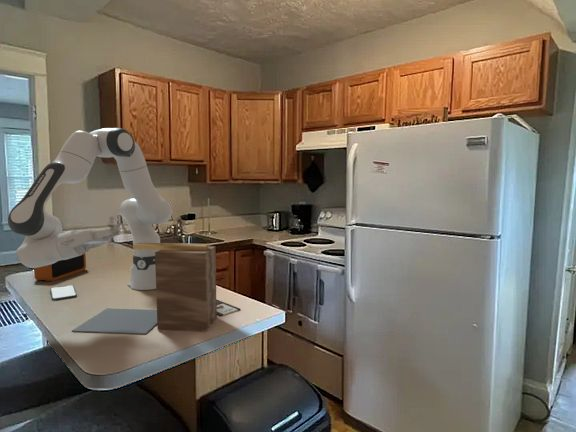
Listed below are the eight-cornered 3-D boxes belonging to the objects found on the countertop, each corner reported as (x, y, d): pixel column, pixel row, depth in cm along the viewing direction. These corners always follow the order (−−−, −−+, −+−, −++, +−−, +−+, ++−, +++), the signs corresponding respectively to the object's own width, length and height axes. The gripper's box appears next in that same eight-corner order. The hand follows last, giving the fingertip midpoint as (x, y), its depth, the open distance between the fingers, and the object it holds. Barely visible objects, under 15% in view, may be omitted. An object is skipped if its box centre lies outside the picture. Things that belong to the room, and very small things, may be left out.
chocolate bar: (211, 297, 151) (240, 308, 139) (211, 299, 151) (240, 311, 139) (192, 303, 145) (220, 315, 132) (192, 305, 145) (220, 317, 132)
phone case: (77, 298, 153) (73, 288, 166) (77, 295, 153) (73, 284, 166) (51, 302, 148) (49, 291, 161) (51, 298, 148) (49, 287, 161)
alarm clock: (50, 282, 174) (48, 258, 173) (34, 281, 175) (32, 257, 174) (86, 269, 197) (85, 248, 196) (72, 268, 199) (71, 247, 198)
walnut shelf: (171, 315, 133) (169, 245, 130) (216, 317, 132) (215, 246, 129) (157, 329, 121) (154, 252, 118) (206, 331, 120) (205, 253, 117)
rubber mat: (106, 309, 139) (106, 308, 139) (170, 311, 137) (170, 310, 137) (71, 331, 119) (71, 330, 119) (145, 334, 117) (145, 333, 117)
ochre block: (139, 247, 127) (138, 242, 127) (209, 248, 125) (209, 243, 125) (133, 249, 123) (133, 244, 123) (205, 250, 121) (205, 246, 121)
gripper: (54, 234, 115) (100, 221, 117) (82, 235, 136) (121, 224, 137) (60, 254, 115) (106, 240, 117) (87, 252, 135) (126, 240, 137)
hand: (114, 231), depth 127 cm, fingers open, 8 cm apart
